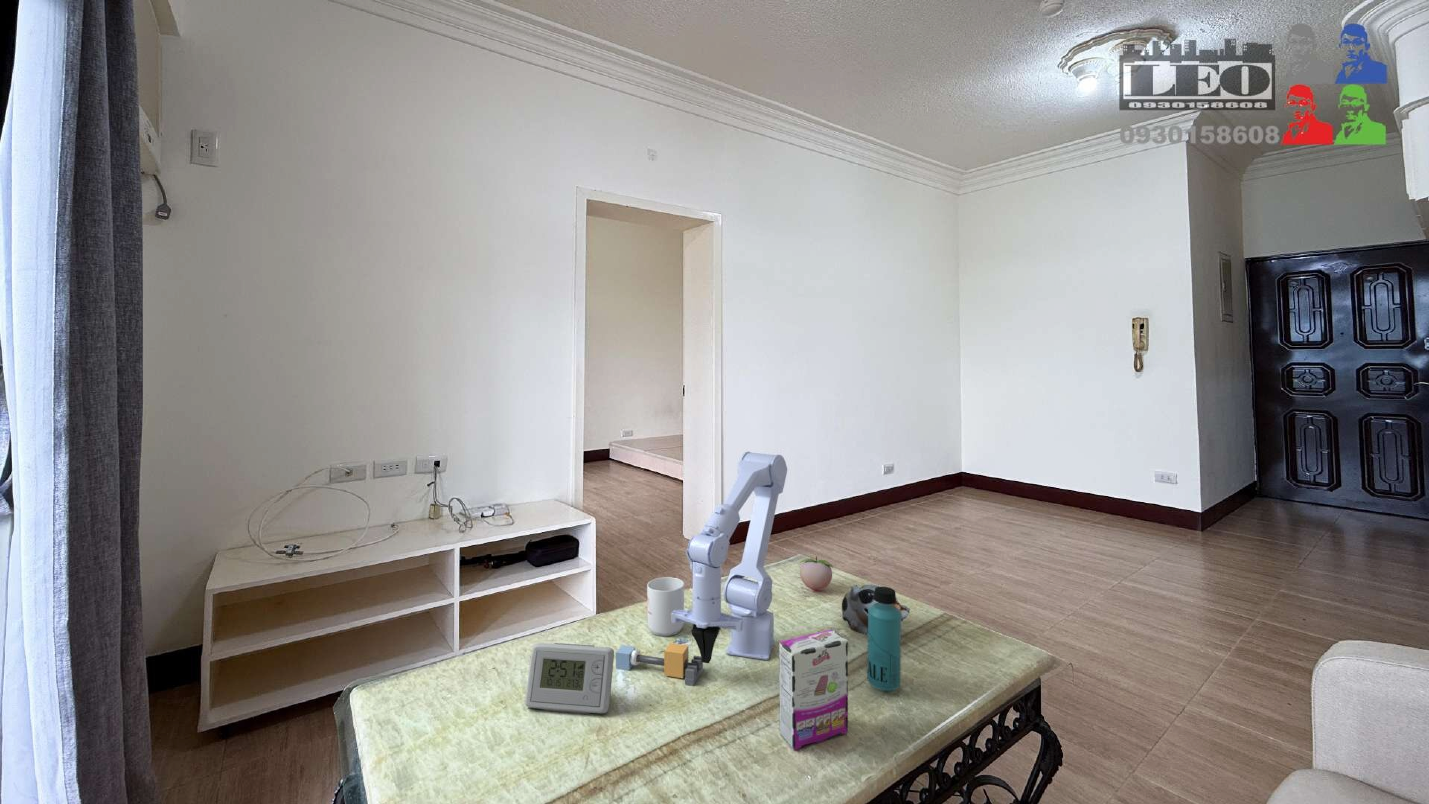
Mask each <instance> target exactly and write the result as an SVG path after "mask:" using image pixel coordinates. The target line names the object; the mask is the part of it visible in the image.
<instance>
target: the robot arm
mask: <svg viewBox="0 0 1429 804" xmlns="http://www.w3.org/2000/svg"><path fill="white" fill-rule="evenodd" d="M736 467H737V475H736V479H735V480H734V483H733V485H732V487H731V489H730V491H729V493H728V495H727V497H726V500H725V501H724V503H722V504H718V505H717V506H715V508H714V510H713V512H712V513H711V515H710V517H709V518H708V520H707V522H706V523H705V524H704V527H703V528H702V530H701V531H700V533H699V532H698V533H696V534H695V535H693V536H692V537H691V538H690V540H689V542H688V545H687V549H686V550H685V551H686V557H687V559H688V561H689V569H690V570H691V571H692V609H684V610H674V611H673V612H672V614H671V623H677V622H682V623H684V624H688V625H689V624H690V625H692V629H691V631H690V632H691V636H692V637H693V639H694V640H695V642H696V646H697V647H698V650H699V653H700V656H701V658H702V663H703V664H710V662H711V660H712V657H713V652H714V651H713V649H714V646H715V644H716V640H717V637H718V635H719V633H720V631H721V629H725V630H727V629H728V630H731V631H730V633H731V634H730V635H731V636H730V643H729V645H728V647H727V649H726V650H725V654H726V655H732V656H738V657H744V658H750V659H758V660H765V661H768V660H769V659H770V656H771V654H772V651H773V648H774V645H775V640H774V639H775V637H774V635H775V634H774V633H775V632H774V631H775V629H774V628H775V625H774V624H775V617H774V612H772V611H769V610H768V609H770V606H771V603H772V600H773V599H772V598H773V591H772V588H773V579H772V577H771V576H770V575H769V573H768V572H767V571H766V569H765V563H766V559H767V553H768V548H769V543H770V538H771V533H772V529H773V524H774V519H775V514H776V509H777V504H778V500H779V495H780V494H782V493H783V492H784V488H785V485H786V479H787V474H788V467H787V462H786V460H785V458H784V456H783V455H781V454H769V453H768V454H766V453H756V452H750V451H745V452H743V454H742V455H741V457H740V458H739V461H738V463H737V466H736ZM753 492H754V495H755V498H754V503H753V506H752V507H753V509H752V512H751V517H750V522H749V526H748V529H747V530H748V531H747V536H746V540H745V544H744V549H743V554H742V557H741V562H740V563H739V564H738V565H736V566H734V567H732V568H731V569H730V570H729V575H728V578H727V580H726V581H725V583H724V586H723V590H722V565H723V564H724V562H725V561H726V559H727V556H728V551H729V548H730V543H731V542H730V539H731V537H732V536H733V534H734V532H735V530H736V528H737V526H738V525H739V523H740V521H741V516H740V513H739V512H740V511H741V509H742V508H743V506H744V505H745V503H746V502H747V500H748V499H749V497H750V496H751V495H752V493H753ZM745 577H746V578H745ZM748 578H749V579H748ZM751 579H753V580H751ZM754 580H756V581H754ZM722 592H723V593H722ZM722 594H723V600H724V602H725V603H726V604H727V605H728V609H729V610H730V611H731V613H730V614H731V615H730V614H728V613H725V612H722Z"/></svg>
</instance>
